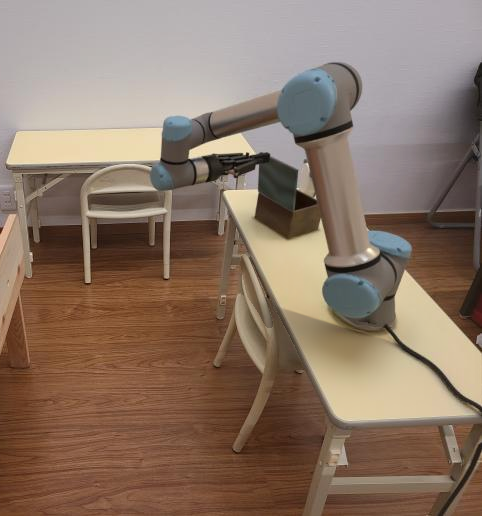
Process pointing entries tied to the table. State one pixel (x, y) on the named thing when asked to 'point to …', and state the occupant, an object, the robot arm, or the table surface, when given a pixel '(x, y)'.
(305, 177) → the panda figurine
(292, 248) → the table surface
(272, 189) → the lid
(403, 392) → the table surface
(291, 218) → the chest
